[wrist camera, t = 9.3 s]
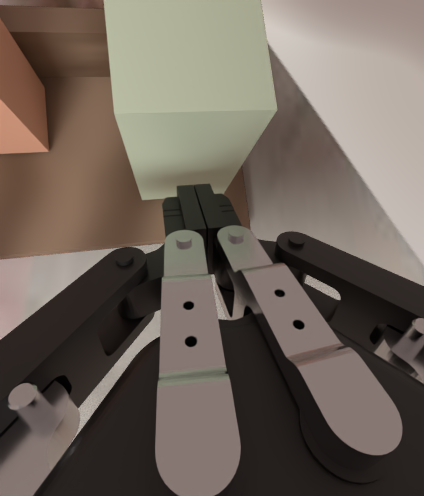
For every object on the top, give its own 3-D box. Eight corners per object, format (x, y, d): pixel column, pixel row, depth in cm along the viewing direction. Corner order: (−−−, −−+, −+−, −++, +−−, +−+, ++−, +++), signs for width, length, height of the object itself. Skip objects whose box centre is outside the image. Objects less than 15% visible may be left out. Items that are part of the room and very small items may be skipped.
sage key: (142, 200, 17) (114, 114, 8) (135, 136, 17) (102, -11, 9) (223, 194, 18) (277, 109, 9) (215, 133, 18) (259, -5, 9)
